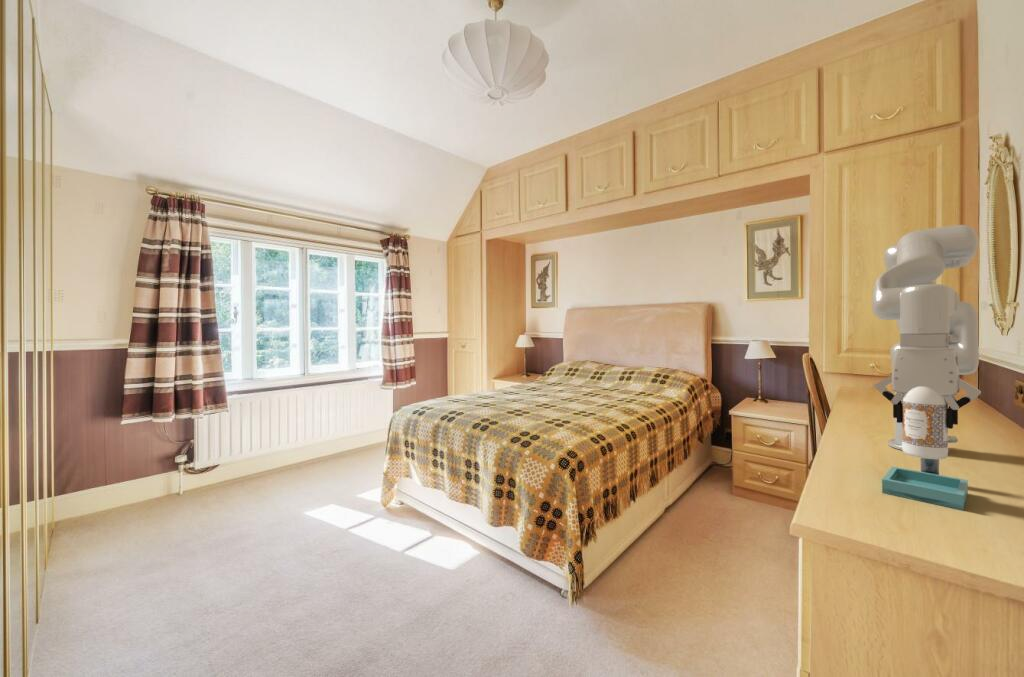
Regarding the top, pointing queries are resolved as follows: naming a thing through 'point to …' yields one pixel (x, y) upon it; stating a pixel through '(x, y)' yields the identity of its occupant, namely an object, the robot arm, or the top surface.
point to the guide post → (930, 466)
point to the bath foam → (924, 424)
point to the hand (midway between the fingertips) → (924, 423)
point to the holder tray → (926, 487)
